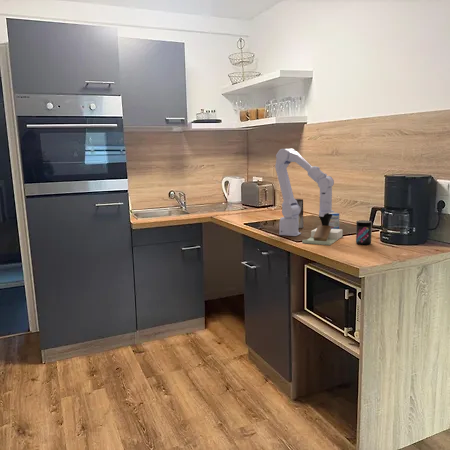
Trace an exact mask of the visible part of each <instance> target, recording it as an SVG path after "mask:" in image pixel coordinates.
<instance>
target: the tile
mask: <svg viewBox="0 0 450 450" xmlns="http://www.w3.org/2000/svg"><path fill="white" fill-rule="evenodd" d="M316 228H317V230H316V232H315V234H314V237H313V238H314V240H317V241H327V238H328V236H329V233H330V231H331V226H325V225H322V224H321V225H320V224H318V225H317V227H316Z"/></svg>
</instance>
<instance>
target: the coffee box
mask: <svg viewBox="0 0 450 450" xmlns="http://www.w3.org/2000/svg"><path fill="white" fill-rule="evenodd" d="M295 199H296V200H297V203H298V205H299V206H300V208H301V212H300V214H299V217H298V218H299V229H302V228H304V199H302V198H295Z"/></svg>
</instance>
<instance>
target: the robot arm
mask: <svg viewBox="0 0 450 450" xmlns="http://www.w3.org/2000/svg"><path fill="white" fill-rule="evenodd" d="M275 158H276V159H275V166H274V168H275V173H276V176H277V180H278V185H279V188H280V192H281V196H282V199H283V201H282V203H281V209H282V210H281V214H282V217H280V219H279V223H278V224H279V228H278V229H279V230H278V231H279V232H278V235H279V236H290V237H297V236H299V235H301V234H302V232H299V229H300V228H299V218H298V217H299V214H300V212H301V208H300V206H299V205H298V203H297V200H296V199H297V198H295V197H294V193H293V189H292V184H291V181H290V177H289V173H288V169H287V168H288V167H289V165H290V164H291V163H296V164H297V165H299V166H300V167H301V168H302V169H303V170H305V171H306V172H307V176H308V177H309V178H311V180H313V182H316V184H317V186H318V188H319V211H318V212H319V213H318V218H319V220H320V222H321V225H325V226H329V222H330V219H331V217H332V214H329V213H335V210H333V209H332V208H333V203H332V202H333V186H334V184H335V180H334V178H333V177H332V176H330V175H328V174H327V173H325V172H323V171H322V170H321V167H320V166H316V165H313V166H312V165H311V164H310V163H309V161H307V160H306V159H305V158H304V157H303V156H302V155H301V154H300V153H299V152H298V151H296V149H294V148H291V147H290V148H280V149H279V150H278V151H277V153H276V154H275Z"/></svg>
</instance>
